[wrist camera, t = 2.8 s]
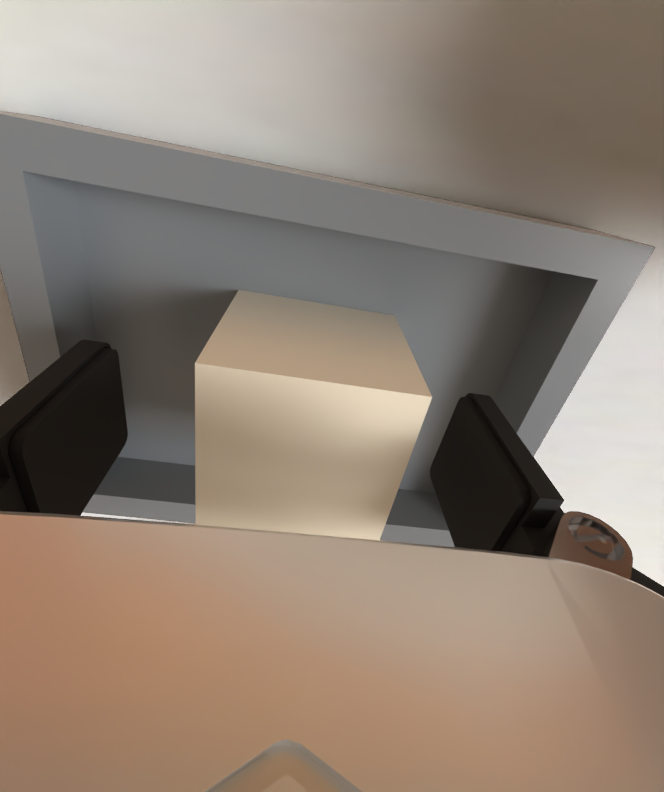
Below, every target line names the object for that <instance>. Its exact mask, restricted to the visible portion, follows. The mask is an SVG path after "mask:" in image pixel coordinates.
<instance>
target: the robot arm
mask: <svg viewBox="0 0 664 792" xmlns="http://www.w3.org/2000/svg"><path fill="white" fill-rule="evenodd" d="M127 436H128V430H127V422H126V413H125V405H124V397H123V389H122V381H121V372H120V364H119V356H118V352H117V350H115V349H111V346H110V344H108V343H106V342H99V341H92V340H84V339H83V340H81V341H79V342H78V343H77V344H75V345H74V346H73V347H72V348H71V349H69V350H68V351H67V352H66V353H65V354H63V355H62V356H61V357H60V358H58V359H57V360H56V361H55V362H54V363H52V364H51V365H50V366H49V367H48V368H46V369H45V370H44V371H43V372H42V373H40V374H39V375H38V376H37V377H35V378H34V379H33V380H32V381H31V382H29V383H28V384H27V385H26V386H25V387H23V388H22V389H21V390H20V391H18V392H17V393H16V394H15V395H14V396H12V397H11V398H10V399H9V400H8V401H6V402H5V403H4V404H3V405H1V406H0V792H664V587H663V586H662V585H660V584H658V583H657V582H655V581H654V580H652V579H650V578H649V577H647V576H645V575H644V574H642V573H641V572H639V571H637V570H636V569H634V568H633V567H632V563H633V557H632V551H631V549H630V547H629V546H628V544H627V542H626V541H625V540H624V539H623V538H622V536H621V535H620V534H619V533H618V532H617V531H615V530H614V529H613V528H612V527H611V526H609V525H608V524H606V523H605V522H603V521H601V520H600V519H598V518H596V517H594V516H591V515H589V514H586V513H582V512H573V511H570V512H567V513H565V514H564V512H563V511H562V510H561V508H560V506H561V504H562V503H563V501H564V499H563V498H562V497H561V495H560V494H559V492H558V491H557V490H556V488H555V487H554V485H553V484H552V482H551V481H550V480H549V478H548V477H547V475H546V474H545V473H544V471H543V470H542V468H541V467H540V466H539V464H538V463H537V461H536V460H535V459H534V457H533V456H532V454H531V453H530V451H529V450H528V449H527V447H526V446H525V444H524V443H523V442H522V440H521V439H520V437H519V436H518V435H517V433H516V432H515V430H514V429H513V428H512V426H511V425H510V423H509V422H508V420H507V419H506V418H505V416H504V415H503V413H502V412H501V411H500V409H499V408H498V406H497V405H496V404H495V402H494V401H493V399H492V398H491V397H490V396H488V395H481V394H474V393H468V394H467V395H466V396H465V397H461V398H460V399H459V401H458V403H457V405H456V407H455V410H454V412H453V415H452V417H451V419H450V422H449V424H448V427H447V429H446V431H445V434H444V436H443V438H442V441H441V443H440V446H439V448H438V450H437V453H436V455H435V458H434V460H433V462H432V465H431V468H430V478H431V481H432V484H433V486H434V489H435V492H436V495H437V498H438V501H439V503H440V506H441V509H442V512H443V515H444V518H445V521H446V523H447V526H448V529H449V532H450V535H451V538H452V540H453V543H454V546H455V547H448V546H437V545H426V544H415V543H404V542H392V541H381V540H370V539H359V538H348V537H336V536H324V535H313V534H301V533H289V532H277V531H266V530H254V529H242V528H230V527H217V526H205V525H192V524H180V523H167V522H154V521H142V520H129V519H117V518H104V517H91V516H80V515H81V513H82V512H83V510H84V509H85V507H86V506H87V504H88V502H89V501H90V499H91V498H92V496H93V495H94V493H95V491H96V490H97V488H98V487H99V485H100V484H101V482H102V480H103V479H104V477H105V476H106V474H107V473H108V471H109V469H110V468H111V466H112V465H113V463H114V462H115V460H116V458H117V457H118V455H119V454H120V452H121V451H122V449H123V447H124V446H125V444H126V441H127Z"/></svg>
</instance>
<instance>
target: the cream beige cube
mask: <svg viewBox="0 0 664 792" xmlns="http://www.w3.org/2000/svg"><path fill="white" fill-rule="evenodd" d="M431 399H432V395H431V393H430V391H429V389H428V387H427V384H426V382H425V380H424V378H423V376H422V374H421V371H420V369H419V367H418V365H417V363H416V361H415V358H414V356H413V354H412V352H411V350H410V348H409V345H408V343H407V341H406V339H405V337H404V335H403V333H402V330H401V328H400V326H399V324H398V322H397V320H396V317H395V316H394V315H388V314H382V313H376V312H370V311H364V310H358V309H352V308H346V307H340V306H334V305H328V304H322V303H316V302H310V301H304V300H298V299H292V298H286V297H280V296H274V295H268V294H262V293H256V292H250V291H244V290H238V292H237V294H236V295H235V297H234V299H233V300H232V302H231V304H230V305H229V307H228V309H227V310H226V312H225V314H224V315H223V317H222V319H221V320H220V322H219V324H218V325H217V327H216V329H215V330H214V332H213V334H212V335H211V337H210V339H209V340H208V342H207V344H206V345H205V347H204V349H203V350H202V352H201V354H200V355H199V357H198V359H197V360H196V362H195V504H196V525H205V526H217V527H230V528H242V529H254V530H266V531H277V532H289V533H301V534H313V535H324V536H336V537H348V538H359V539H370V540H380V538H381V535H382V532H383V529H384V527H385V524H386V521H387V519H388V516H389V513H390V510H391V508H392V505H393V502H394V500H395V497H396V494H397V491H398V489H399V486H400V483H401V481H402V478H403V475H404V472H405V470H406V467H407V464H408V462H409V459H410V456H411V453H412V451H413V448H414V445H415V443H416V440H417V437H418V434H419V432H420V429H421V426H422V424H423V421H424V418H425V415H426V413H427V410H428V407H429V405H430V402H431Z"/></svg>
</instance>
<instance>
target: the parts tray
mask: <svg viewBox="0 0 664 792" xmlns="http://www.w3.org/2000/svg"><path fill="white" fill-rule="evenodd" d="M654 248H655V247H653V246H650V245H646V244H643V243H639V242H635V241H632V240H628V239H625V238H621V237H617V236H614V235H610V234H606V233H603V232H599V231H596V230H591V229H586V228H581V227H576V226H571V225H566V224H561V223H557V222H552V221H547V220H542V219H537V218H532V217H527V216H522V215H517V214H513V213H508V212H503V211H498V210H493V209H488V208H483V207H478V206H473V205H469V204H464V203H459V202H454V201H449V200H444V199H439V198H434V197H430V196H425V195H420V194H415V193H410V192H405V191H400V190H395V189H390V188H386V187H381V186H376V185H371V184H366V183H361V182H356V181H351V180H346V179H342V178H337V177H332V176H327V175H322V174H317V173H312V172H307V171H302V170H298V169H293V168H288V167H283V166H278V165H273V164H268V163H263V162H259V161H254V160H249V159H244V158H239V157H234V156H229V155H224V154H219V153H215V152H210V151H205V150H200V149H195V148H190V147H185V146H180V145H175V144H171V143H166V142H161V141H156V140H151V139H146V138H141V137H136V136H131V135H127V134H122V133H117V132H112V131H107V130H102V129H97V128H92V127H87V126H83V125H78V124H73V123H68V122H63V121H58V120H53V119H48V118H44V117H39V116H33V115H26V114H19V113H11V112H4V111H0V269H1V273H2V276H3V280H4V284H5V288H6V292H7V296H8V300H9V304H10V307H11V311H12V315H13V319H14V323H15V327H16V331H17V335H18V338H19V342H20V346H21V350H22V354H23V358H24V362H25V366H26V369H27V373H28V377H29V381H30V382H31V381H32V380H33V379H34V378H35V377H37V376H38V375H39V374H40V373H42V372H43V371H44V370H45V369H46V368H48V367H49V366H50V365H51V364H52V363H54V362H55V361H56V360H57V359H58V358H60V357H61V356H62V355H63V354H65V353H66V352H67V351H68V350H69V349H71V348H72V347H73V346H74V345H75V344H77V343H78V342H79V341H81V340H83V339H84V340H92V341H99V342H106V343H108V344H110V346H111V349H115V350H117V352H118V356H119V364H120V372H121V381H122V389H123V397H124V405H125V413H126V422H127V430H128V436H127V441H126V444H125V446H124V447H123V449H122V451H121V452H120V454H119V455H118V457H117V458H116V460H115V462H114V463H113V465H112V466H111V468H110V469H109V471H108V473H107V474H106V476H105V477H104V479H103V480H102V482H101V484H100V485H99V487H98V488H97V490H96V491H95V493H94V495H93V496H92V498H91V499H90V501H89V502H88V504H87V506H86V507H85V509H84V510H83V512H85V513H96V514H106V515H116V516H126V517H137V518H147V519H157V520H167V521H178V522H188V523H196V504H195V362H196V360H197V359H198V357H199V355H200V354H201V352H202V350H203V349H204V347H205V345H206V344H207V342H208V340H209V339H210V337H211V335H212V334H213V332H214V330H215V329H216V327H217V325H218V324H219V322H220V320H221V319H222V317H223V315H224V314H225V312H226V310H227V309H228V307H229V305H230V304H231V302H232V300H233V299H234V297H235V295H236V294H237V292H238V290H244V291H250V292H256V293H262V294H268V295H274V296H280V297H286V298H292V299H298V300H304V301H310V302H316V303H322V304H328V305H334V306H340V307H346V308H352V309H358V310H364V311H370V312H376V313H382V314H388V315H394V316H395V317H396V320H397V322H398V324H399V326H400V328H401V330H402V333H403V335H404V337H405V339H406V341H407V343H408V345H409V348H410V350H411V352H412V354H413V356H414V358H415V361H416V363H417V365H418V367H419V369H420V371H421V374H422V376H423V378H424V380H425V382H426V384H427V387H428V389H429V391H430V393H431V395H432V399H431V402H430V405H429V407H428V410H427V413H426V415H425V418H424V421H423V424H422V426H421V429H420V432H419V434H418V437H417V440H416V443H415V445H414V448H413V451H412V453H411V456H410V459H409V462H408V464H407V467H406V470H405V472H404V475H403V478H402V481H401V483H400V486H399V489H398V491H397V494H396V497H395V500H394V502H393V505H392V508H391V510H390V513H389V516H388V519H387V521H386V524H385V527H384V529H383V532H382V535H381V538H380V540H381V541H392V542H404V543H415V544H426V545H437V546H448V547H455V546H454V543H453V540H452V538H451V535H450V532H449V529H448V526H447V523H446V521H445V518H444V515H443V512H442V509H441V506H440V503H439V501H438V498H437V495H436V492H435V489H434V486H433V484H432V481H431V478H430V468H431V465H432V462H433V460H434V458H435V455H436V453H437V450H438V448H439V446H440V443H441V441H442V438H443V436H444V434H445V431H446V429H447V427H448V424H449V422H450V419H451V417H452V415H453V412H454V410H455V407H456V405H457V403H458V401H459V399H460V398H461V397H465V396H466V395H467V394H468V393H474V394H481V395H488V396H490V397H491V398H492V399H493V401H494V402H495V404H496V405H497V406H498V408H499V409H500V411H501V412H502V413H503V415H504V416H505V418H506V419H507V420H508V422H509V423H510V425H511V426H512V428H513V429H514V430H515V432H516V433H517V435H518V436H519V437H520V439H521V440H522V442H523V443H524V444H525V446H526V447H527V449H528V450H529V451H530V453H531V454H532V456H534V455H535V453H536V451H537V450H538V448H539V446H540V444H541V443H542V441H543V439H544V438H545V436H546V434H547V432H548V431H549V429H550V427H551V425H552V424H553V422H554V420H555V419H556V417H557V415H558V413H559V412H560V410H561V408H562V407H563V405H564V403H565V401H566V400H567V398H568V396H569V395H570V393H571V391H572V389H573V388H574V386H575V384H576V382H577V381H578V379H579V377H580V376H581V374H582V372H583V370H584V369H585V367H586V365H587V364H588V362H589V360H590V358H591V357H592V355H593V353H594V352H595V350H596V348H597V346H598V345H599V343H600V341H601V340H602V338H603V336H604V334H605V333H606V331H607V329H608V327H609V326H610V324H611V322H612V321H613V319H614V317H615V315H616V314H617V312H618V310H619V309H620V307H621V305H622V303H623V302H624V300H625V298H626V297H627V295H628V293H629V291H630V290H631V288H632V286H633V285H634V283H635V281H636V279H637V278H638V276H639V274H640V272H641V271H642V269H643V267H644V266H645V264H646V262H647V260H648V259H649V257H650V255H651V254H652V252H653V250H654Z"/></svg>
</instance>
